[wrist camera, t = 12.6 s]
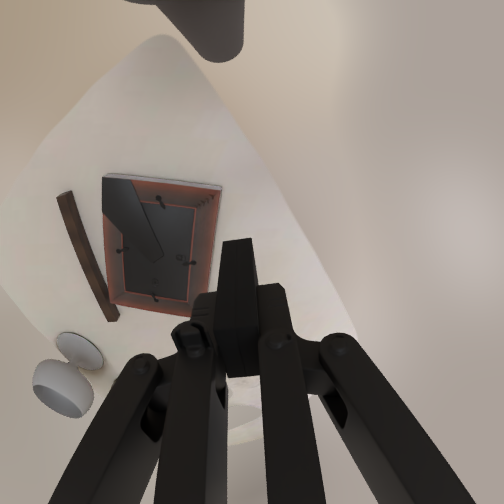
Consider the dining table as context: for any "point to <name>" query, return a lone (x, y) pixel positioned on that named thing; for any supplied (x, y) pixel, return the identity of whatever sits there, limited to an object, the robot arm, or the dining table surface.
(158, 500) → the robot arm
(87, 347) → the chalice
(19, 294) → the dining table surface
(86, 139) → the dining table surface
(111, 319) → the walnut rail
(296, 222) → the dining table surface
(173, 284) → the picture frame
